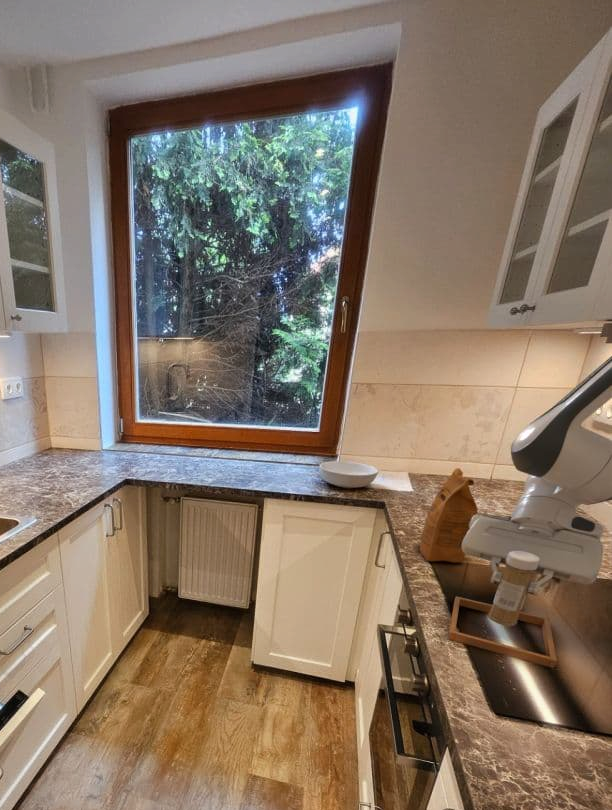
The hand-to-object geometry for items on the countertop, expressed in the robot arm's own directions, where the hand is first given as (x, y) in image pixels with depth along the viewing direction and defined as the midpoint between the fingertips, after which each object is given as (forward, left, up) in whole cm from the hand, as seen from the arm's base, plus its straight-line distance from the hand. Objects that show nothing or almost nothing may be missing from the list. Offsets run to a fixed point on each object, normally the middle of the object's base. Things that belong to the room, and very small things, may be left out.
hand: (513, 588), depth 85 cm
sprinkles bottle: (0, -1, -7) cm, 7 cm away
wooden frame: (0, -1, -11) cm, 11 cm away
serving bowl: (+49, -89, -11) cm, 102 cm away
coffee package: (+12, -36, -11) cm, 40 cm away
